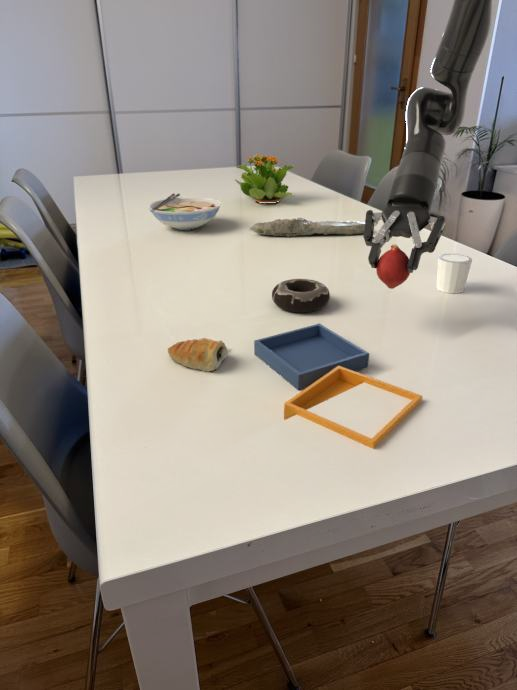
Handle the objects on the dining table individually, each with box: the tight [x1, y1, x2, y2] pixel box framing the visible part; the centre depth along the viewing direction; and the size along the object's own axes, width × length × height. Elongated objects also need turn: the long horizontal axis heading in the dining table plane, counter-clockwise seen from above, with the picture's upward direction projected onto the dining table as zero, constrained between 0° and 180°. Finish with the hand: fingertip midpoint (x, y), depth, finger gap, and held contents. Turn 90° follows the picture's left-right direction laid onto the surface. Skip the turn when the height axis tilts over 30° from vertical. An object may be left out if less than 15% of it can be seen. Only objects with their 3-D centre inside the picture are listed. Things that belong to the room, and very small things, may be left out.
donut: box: [271, 278, 331, 314], centre depth 104 cm, size 12×12×4 cm
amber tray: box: [283, 366, 423, 449], centre depth 69 cm, size 13×13×3 cm
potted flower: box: [234, 153, 296, 202], centre depth 193 cm, size 25×24×18 cm
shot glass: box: [436, 252, 473, 294], centre depth 110 cm, size 7×7×7 cm
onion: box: [375, 244, 411, 290], centre depth 89 cm, size 6×6×8 cm
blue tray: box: [253, 323, 370, 391], centre depth 82 cm, size 13×13×3 cm
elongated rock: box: [252, 217, 365, 238], centre depth 154 cm, size 35×5×10 cm
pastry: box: [167, 337, 228, 372], centre depth 83 cm, size 9×7×4 cm
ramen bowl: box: [147, 193, 222, 231], centre depth 161 cm, size 25×23×8 cm
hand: (391, 268), depth 88 cm, fingers closed on onion, 5 cm apart
